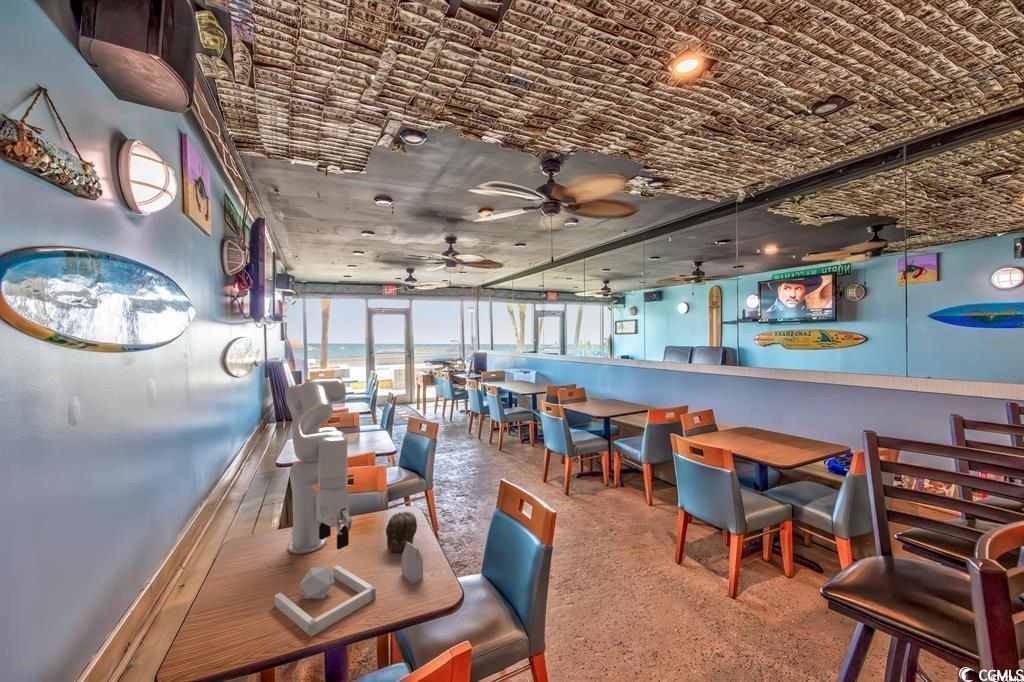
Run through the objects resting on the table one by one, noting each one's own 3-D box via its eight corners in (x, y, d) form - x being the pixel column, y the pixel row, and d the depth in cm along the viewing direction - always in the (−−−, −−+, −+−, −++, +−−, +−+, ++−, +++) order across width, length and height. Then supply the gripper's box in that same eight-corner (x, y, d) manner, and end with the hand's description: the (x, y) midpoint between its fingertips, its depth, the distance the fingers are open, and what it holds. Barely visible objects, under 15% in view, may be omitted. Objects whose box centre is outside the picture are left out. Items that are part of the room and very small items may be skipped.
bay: (274, 605, 115) (274, 595, 115) (337, 574, 130) (337, 565, 130) (311, 636, 102) (310, 624, 102) (375, 598, 118) (375, 587, 118)
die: (311, 611, 113) (333, 578, 116) (288, 593, 114) (310, 560, 117) (323, 604, 121) (344, 573, 124) (301, 587, 122) (322, 556, 125)
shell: (422, 547, 147) (422, 514, 147) (393, 557, 140) (393, 523, 140) (409, 536, 155) (408, 505, 155) (381, 545, 148) (381, 513, 148)
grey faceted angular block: (412, 583, 125) (412, 551, 125) (401, 574, 130) (401, 543, 130) (423, 578, 127) (422, 547, 127) (411, 569, 132) (411, 539, 132)
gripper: (304, 479, 116) (305, 538, 116) (337, 491, 106) (337, 557, 106) (329, 472, 122) (330, 529, 122) (362, 483, 112) (363, 545, 112)
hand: (333, 542), depth 114 cm, fingers open, 8 cm apart
